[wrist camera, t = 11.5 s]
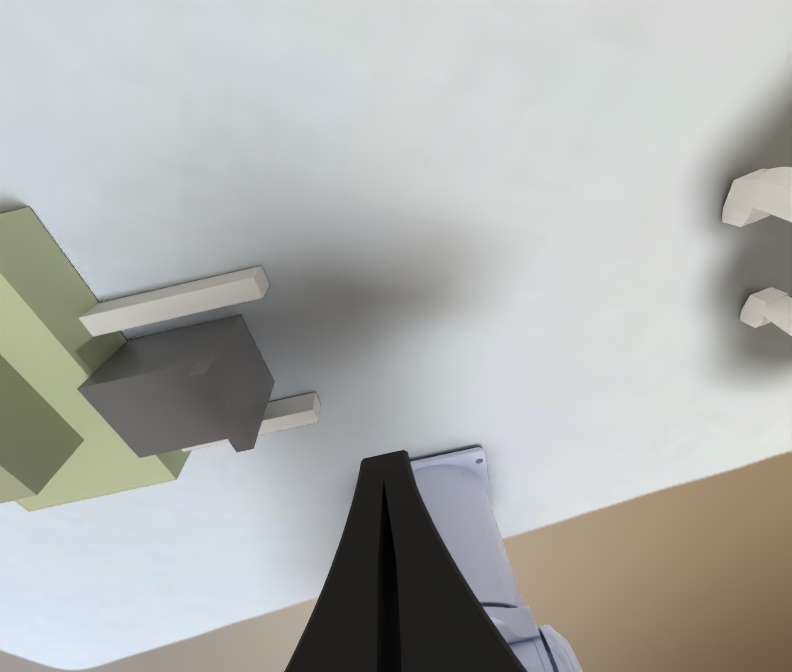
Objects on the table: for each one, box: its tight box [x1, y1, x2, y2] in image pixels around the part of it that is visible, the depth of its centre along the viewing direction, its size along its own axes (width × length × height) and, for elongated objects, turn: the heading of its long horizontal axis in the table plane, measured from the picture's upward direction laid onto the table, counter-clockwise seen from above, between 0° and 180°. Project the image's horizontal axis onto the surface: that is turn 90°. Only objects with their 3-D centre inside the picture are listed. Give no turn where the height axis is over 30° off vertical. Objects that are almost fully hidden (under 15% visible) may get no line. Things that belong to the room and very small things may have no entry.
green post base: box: [0, 207, 321, 511], centre depth 16 cm, size 14×16×6 cm
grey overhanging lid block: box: [77, 314, 274, 458], centre depth 17 cm, size 4×6×5 cm
